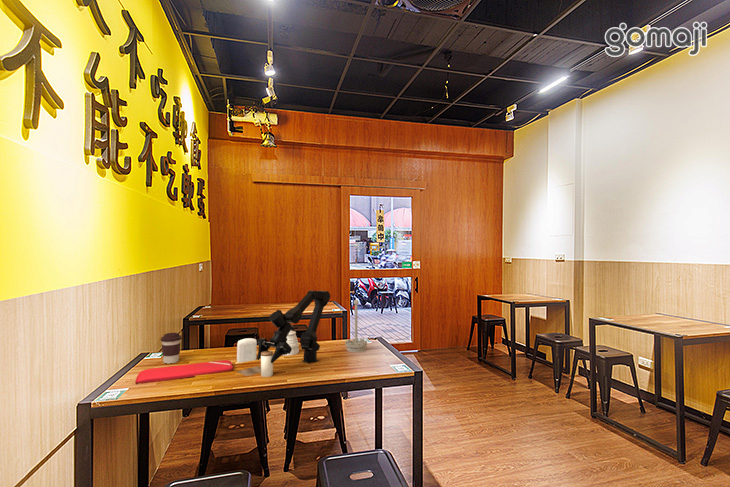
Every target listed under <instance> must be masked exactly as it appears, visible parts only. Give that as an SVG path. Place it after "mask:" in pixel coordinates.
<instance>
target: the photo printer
mask: <svg viewBox="0 0 730 487" xmlns="http://www.w3.org/2000/svg"><path fill="white" fill-rule="evenodd" d="M257 345H258V343H257V339H256V338H252V337H250V338H249V337H248V338H243V339H240V340H238V341H237V344H236V362H237V363H245V362H252V361H256V360H257V354H258V348H257V347H258V346H257Z"/></svg>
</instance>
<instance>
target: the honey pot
mask: <svg viewBox="0 0 730 487" xmlns="http://www.w3.org/2000/svg"><path fill="white" fill-rule="evenodd" d="M296 334H297V332H296V331H295V330H294V331H290V332H289V334H288V335H287V337H286V338H287V341H286V342H287V343H288V344H289V345H290V347H291V348H292V351H291V352H290V354H288V353H287V355H286V354H285V355H283V356H287V357H288V356H294V355H298V354H299V353H300V350H299V349H300V342H299V341H298V337H297V335H296Z"/></svg>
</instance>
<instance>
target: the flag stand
mask: <svg viewBox="0 0 730 487" xmlns="http://www.w3.org/2000/svg"><path fill="white" fill-rule="evenodd" d="M353 304H354V305H353V306H352V307H351V308H352V309H353V311H354V338H352V340H351V339H347V340H345V342H344V343H345V347H346V350H347V352H349V351H350V353H363V352H365V351H366V347H367V346H368V340H366V339H364V338H361V339H359V340H358V304H359V300H358V299H355V300H353ZM362 351H363V352H362Z"/></svg>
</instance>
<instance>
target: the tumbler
mask: <svg viewBox="0 0 730 487" xmlns="http://www.w3.org/2000/svg"><path fill="white" fill-rule="evenodd" d="M273 354H274V352H273V351H272V350H268V351H263V352H261V358H260V367H261V373H260V376H261V377H263V378H268V377H272V376H273V375H274V370H273V369H274V364H273V363H274V362H273V363H271V359H272V357H273Z"/></svg>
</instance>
